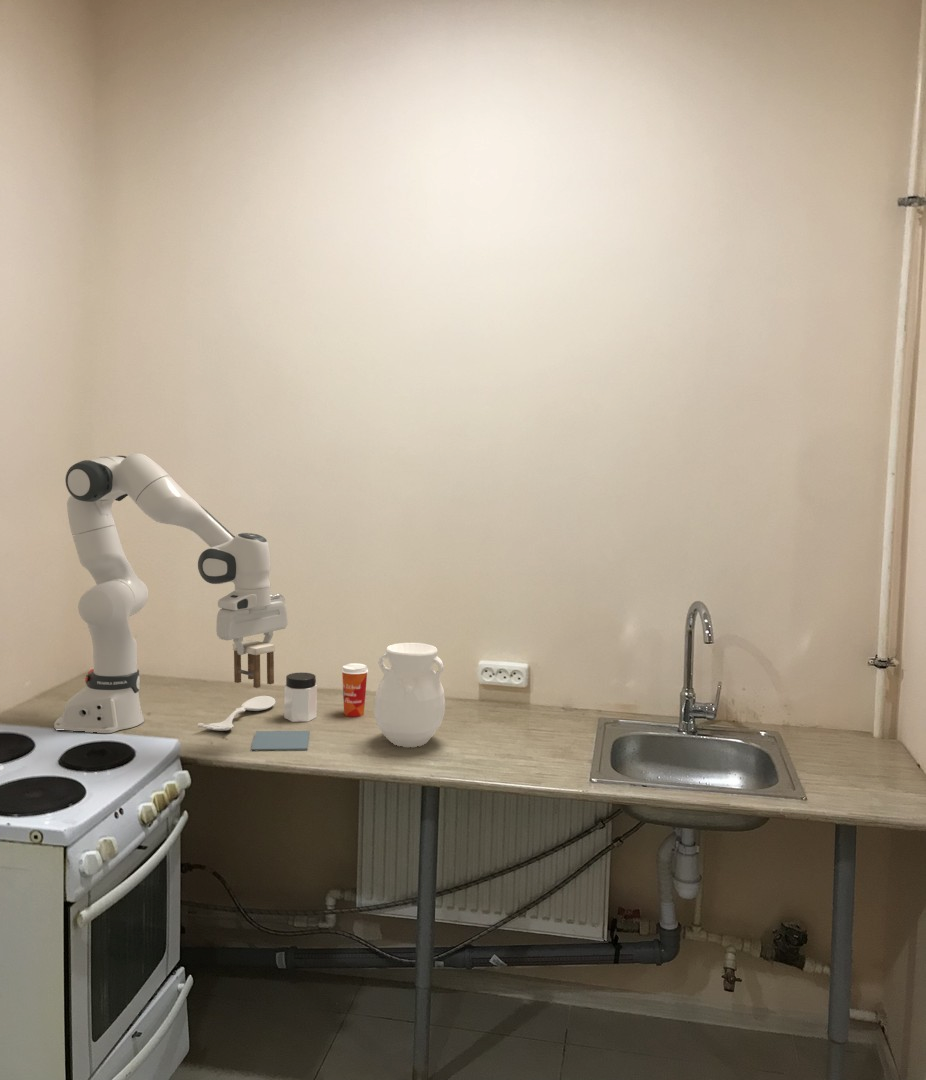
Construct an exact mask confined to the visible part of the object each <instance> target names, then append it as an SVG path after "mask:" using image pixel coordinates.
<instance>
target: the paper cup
mask: <svg viewBox="0 0 926 1080" xmlns="http://www.w3.org/2000/svg"><path fill="white" fill-rule="evenodd" d="M340 672H341V673H342V674H341V675H342V695H343V696H342V697H343V700H342V701H343V714H344V716H346V717H349V718H350V717H351V718H358V717H362V716H364V714H365V706H366V705H365V704H366V695H367V694H366V692H367V691H366V690H367V682H368V681H367V680H368V679H367V677H368V673H369V669H368V667H367V665H366V664H364V663H347V664H344V665H342V669H341V670H340Z"/></svg>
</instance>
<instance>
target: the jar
mask: <svg viewBox="0 0 926 1080" xmlns="http://www.w3.org/2000/svg"><path fill="white" fill-rule="evenodd" d="M285 677H286V678H285V680H286V681H285V685H284V696H283V697H284V702H283V704H284V709H283V711H284V714H283V716H284V719H285V720H288V721H290V722H291V723H300V722H302V723H303V722H304V723H305V722H306V723H307V722H310V721H312V720H314V719H315V718H317V715H318V714H317V713H318V708H317V707H318V685H317V684H316V683H317V680H316V679H317V678H316V674H314V673H311V672H292V673H288V674H287V675H286V676H285Z"/></svg>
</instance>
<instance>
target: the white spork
mask: <svg viewBox="0 0 926 1080" xmlns="http://www.w3.org/2000/svg"><path fill="white" fill-rule="evenodd" d="M275 704H276V699H275V698H274V697H273V696H270V695H258V696H254V697H252V698H248V699H247V700H245V701H244V702H243V703H242V704H241V705H240V707H237V708H235V709H234V710H233V711H232V712H231V713H230V714H229V716H227V718H226V719H224V720H223V721H220V722H219V721H218V722H212V723H211V722H210V723H204V722H203V723H201V722H199V723H197V725H196V726H197V727H198V728H203V729H207V730H212V731H217V732H218V731H220V732H227V731H229V730H231V729H233V728H234V727H235V726H234V725H233V721H234V718H235V716H237V715H238V714H240V713H245V712H246V711H250V712H251V711H252V712H260V711H261V712H262V711H264V710H267V709H269V708H271V707H273V706H274V705H275Z"/></svg>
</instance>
